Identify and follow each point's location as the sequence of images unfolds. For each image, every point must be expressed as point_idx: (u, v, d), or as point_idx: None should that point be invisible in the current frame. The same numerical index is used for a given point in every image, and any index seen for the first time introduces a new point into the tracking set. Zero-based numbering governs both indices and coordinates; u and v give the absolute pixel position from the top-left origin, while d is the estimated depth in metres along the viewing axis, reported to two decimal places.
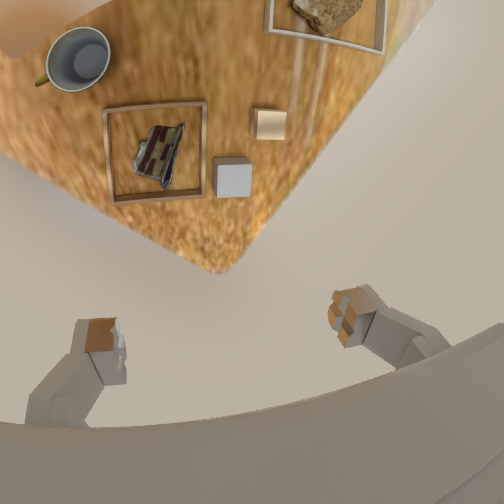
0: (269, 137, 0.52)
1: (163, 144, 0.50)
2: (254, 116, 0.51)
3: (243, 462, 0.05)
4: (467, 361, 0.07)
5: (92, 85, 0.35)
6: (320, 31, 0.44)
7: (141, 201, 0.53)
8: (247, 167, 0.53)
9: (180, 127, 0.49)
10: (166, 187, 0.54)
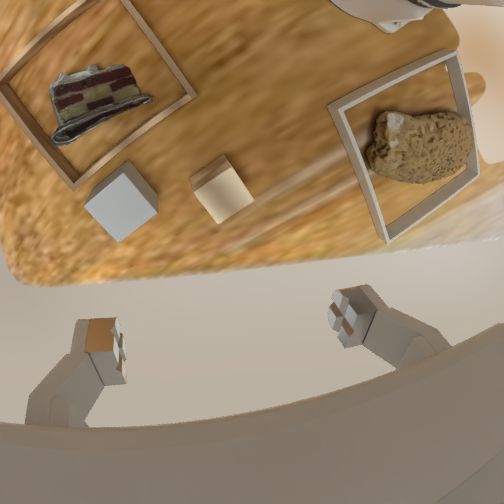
0: (207, 205, 0.35)
1: (109, 93, 0.27)
2: (217, 167, 0.35)
3: (243, 462, 0.05)
4: (467, 360, 0.07)
5: None
6: (373, 163, 0.39)
7: (16, 117, 0.24)
8: (149, 210, 0.33)
9: (145, 96, 0.29)
10: (58, 143, 0.28)
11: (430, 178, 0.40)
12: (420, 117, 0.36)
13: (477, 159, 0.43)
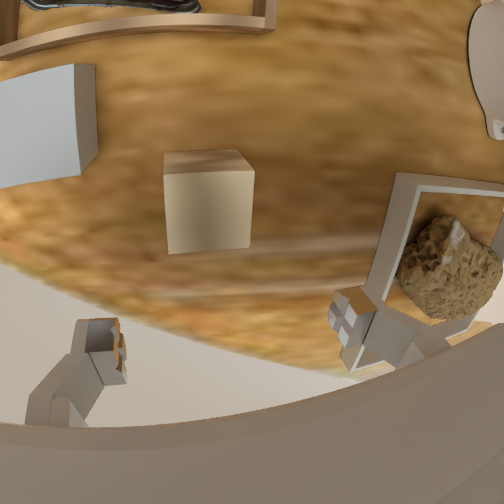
0: (171, 212, 0.17)
1: None
2: (223, 160, 0.19)
3: (243, 462, 0.05)
4: (467, 361, 0.07)
5: None
6: (408, 271, 0.28)
7: None
8: (71, 162, 0.14)
9: None
10: None
11: (444, 315, 0.31)
12: (474, 242, 0.28)
13: (476, 313, 0.39)
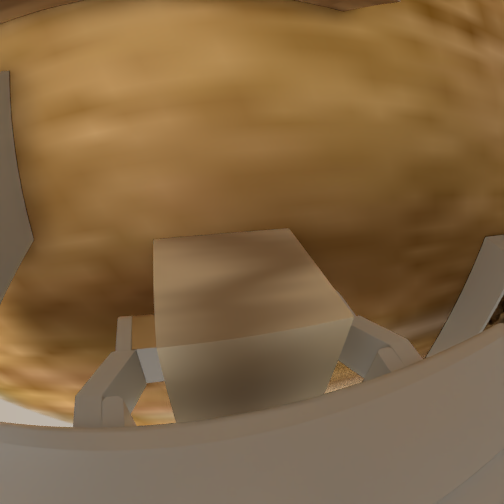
0: (181, 398, 0.08)
1: None
2: (277, 273, 0.09)
3: (243, 462, 0.05)
4: (467, 361, 0.07)
5: None
6: None
7: None
8: None
9: None
10: None
11: None
12: None
13: None
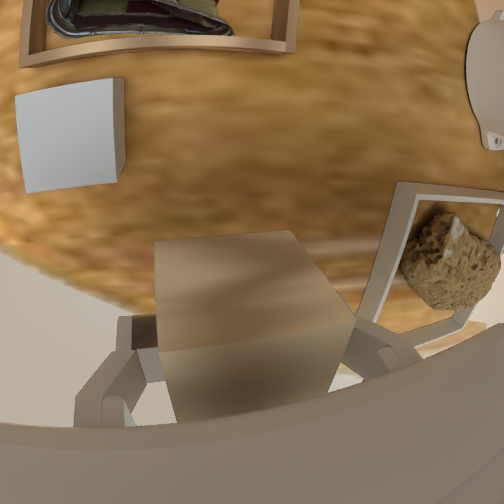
0: (183, 401, 0.08)
1: None
2: (279, 276, 0.09)
3: (243, 462, 0.05)
4: (467, 361, 0.07)
5: None
6: (412, 264, 0.30)
7: None
8: (107, 170, 0.16)
9: (226, 24, 0.16)
10: (53, 22, 0.12)
11: (447, 306, 0.33)
12: (473, 237, 0.30)
13: (470, 313, 0.42)
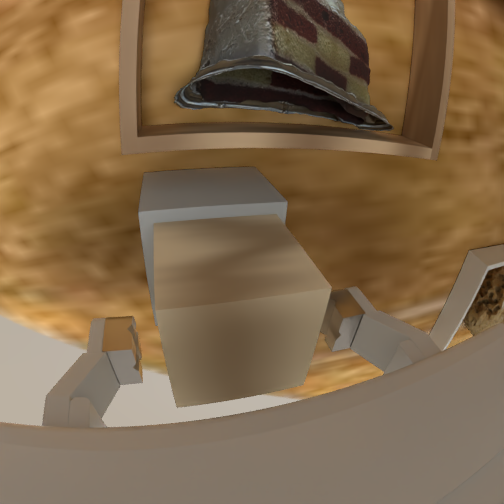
0: (176, 363, 0.09)
1: (345, 70, 0.13)
2: (264, 251, 0.11)
3: (243, 462, 0.05)
4: (467, 361, 0.07)
5: None
6: (475, 315, 0.29)
7: None
8: None
9: (387, 122, 0.15)
10: (181, 92, 0.12)
11: None
12: None
13: None
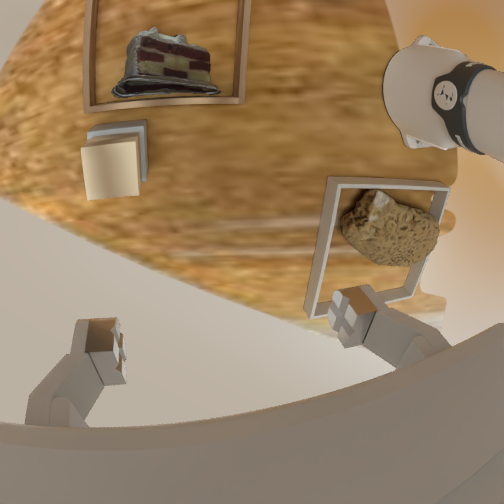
0: (86, 172, 0.24)
1: (186, 68, 0.28)
2: (122, 137, 0.26)
3: (243, 462, 0.05)
4: (467, 360, 0.07)
5: None
6: (346, 228, 0.44)
7: (88, 11, 0.21)
8: None
9: (216, 88, 0.31)
10: (114, 91, 0.27)
11: (388, 261, 0.48)
12: (402, 206, 0.44)
13: (417, 282, 0.57)
